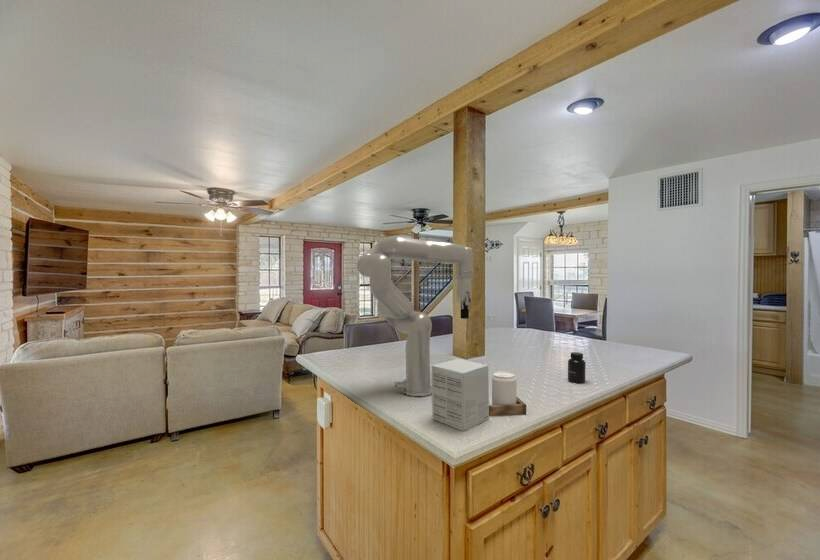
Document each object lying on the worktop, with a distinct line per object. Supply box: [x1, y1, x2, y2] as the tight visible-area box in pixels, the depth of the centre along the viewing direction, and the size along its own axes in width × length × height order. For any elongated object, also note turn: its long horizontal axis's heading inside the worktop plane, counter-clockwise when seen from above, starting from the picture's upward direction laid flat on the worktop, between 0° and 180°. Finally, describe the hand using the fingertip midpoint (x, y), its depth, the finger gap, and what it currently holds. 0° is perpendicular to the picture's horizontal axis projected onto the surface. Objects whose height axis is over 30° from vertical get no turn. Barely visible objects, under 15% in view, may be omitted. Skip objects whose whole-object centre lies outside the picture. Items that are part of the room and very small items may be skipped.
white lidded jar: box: [491, 370, 518, 405], centre depth 124 cm, size 8×8×12 cm
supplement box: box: [431, 358, 490, 432], centre depth 116 cm, size 13×13×18 cm
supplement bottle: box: [567, 351, 587, 385], centre depth 154 cm, size 7×7×12 cm
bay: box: [489, 396, 527, 417], centre depth 125 cm, size 13×12×3 cm
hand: (464, 318), depth 157 cm, fingers closed
